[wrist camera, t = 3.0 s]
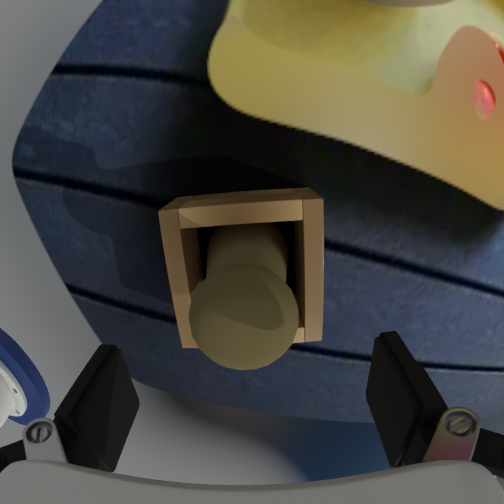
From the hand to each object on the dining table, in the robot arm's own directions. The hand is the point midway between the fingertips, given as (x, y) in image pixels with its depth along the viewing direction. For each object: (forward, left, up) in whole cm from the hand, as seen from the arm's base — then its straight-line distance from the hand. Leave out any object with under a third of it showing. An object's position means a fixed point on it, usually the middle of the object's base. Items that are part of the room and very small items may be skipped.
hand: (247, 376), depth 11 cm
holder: (0, 0, -14) cm, 14 cm away
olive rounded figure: (0, 0, -14) cm, 14 cm away
